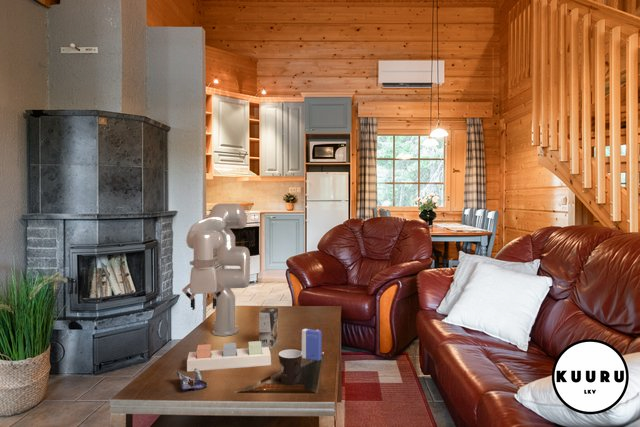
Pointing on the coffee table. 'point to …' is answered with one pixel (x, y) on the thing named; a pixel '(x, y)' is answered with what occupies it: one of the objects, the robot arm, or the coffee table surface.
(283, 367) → the coffee mug
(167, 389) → the coffee table surface
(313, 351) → the walkman
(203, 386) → the snack package
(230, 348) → the slate-grey button
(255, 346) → the sage-green button
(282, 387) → the coffee table surface
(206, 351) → the terracotta button
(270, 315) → the coffee box
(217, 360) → the button console
